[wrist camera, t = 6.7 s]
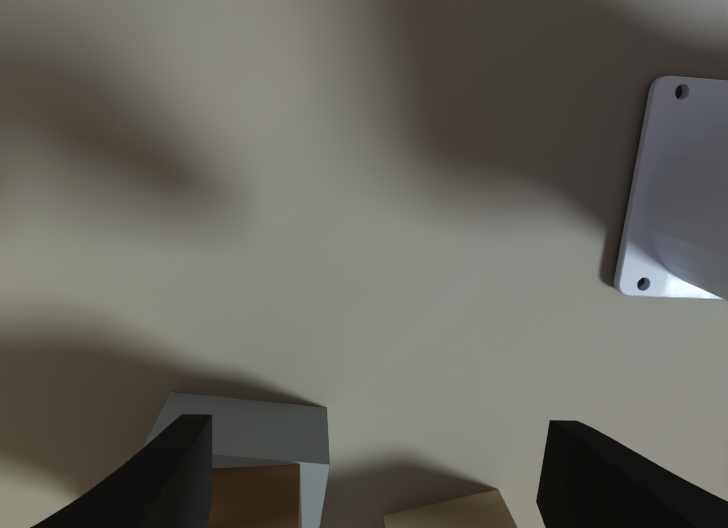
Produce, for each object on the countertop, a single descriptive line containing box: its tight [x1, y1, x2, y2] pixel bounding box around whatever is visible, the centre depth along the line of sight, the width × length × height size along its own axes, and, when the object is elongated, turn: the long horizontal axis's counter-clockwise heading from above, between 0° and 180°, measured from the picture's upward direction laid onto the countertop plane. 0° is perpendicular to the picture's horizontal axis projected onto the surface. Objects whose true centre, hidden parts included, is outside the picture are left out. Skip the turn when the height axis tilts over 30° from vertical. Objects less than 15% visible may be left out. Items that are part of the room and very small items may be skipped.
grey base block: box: [142, 392, 330, 528], centre depth 21 cm, size 6×6×4 cm
